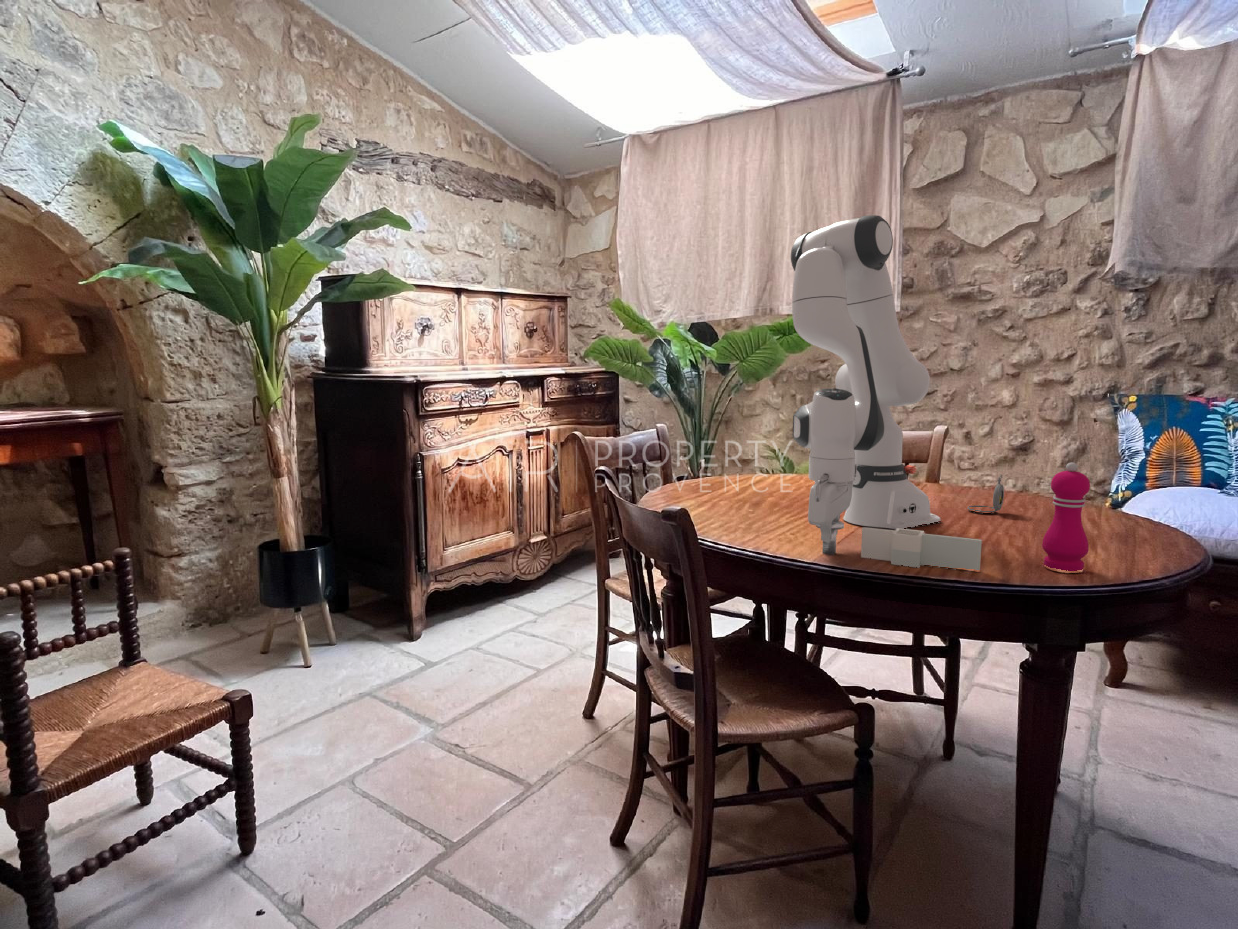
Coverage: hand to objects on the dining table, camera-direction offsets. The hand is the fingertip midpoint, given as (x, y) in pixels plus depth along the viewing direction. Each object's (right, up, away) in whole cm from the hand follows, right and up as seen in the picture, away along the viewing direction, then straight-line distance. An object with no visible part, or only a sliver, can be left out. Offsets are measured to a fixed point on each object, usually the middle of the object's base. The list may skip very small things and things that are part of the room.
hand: (829, 538), depth 142 cm
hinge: (+15, -4, -8) cm, 17 cm away
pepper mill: (+40, -5, -12) cm, 42 cm away
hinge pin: (0, -3, 0) cm, 3 cm away
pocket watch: (+50, +3, +34) cm, 61 cm away
